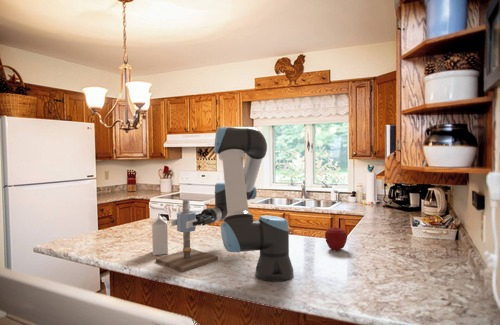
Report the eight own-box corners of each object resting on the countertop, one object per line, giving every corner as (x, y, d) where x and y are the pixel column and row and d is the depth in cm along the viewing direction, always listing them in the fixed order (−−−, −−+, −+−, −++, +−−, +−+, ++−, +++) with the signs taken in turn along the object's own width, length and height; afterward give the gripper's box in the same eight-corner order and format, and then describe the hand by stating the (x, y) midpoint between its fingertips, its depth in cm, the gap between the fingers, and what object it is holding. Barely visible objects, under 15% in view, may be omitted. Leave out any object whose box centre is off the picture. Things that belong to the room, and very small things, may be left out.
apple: (348, 253, 155) (348, 229, 154) (325, 252, 157) (325, 228, 156) (346, 247, 165) (346, 224, 165) (324, 246, 168) (324, 224, 167)
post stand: (218, 259, 148) (217, 199, 147) (182, 271, 133) (181, 204, 132) (190, 251, 161) (189, 195, 161) (155, 261, 146) (154, 200, 146)
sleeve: (199, 229, 147) (198, 212, 147) (184, 233, 141) (184, 214, 141) (188, 227, 153) (187, 210, 152) (174, 230, 147) (173, 212, 146)
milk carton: (152, 255, 155) (152, 216, 155) (153, 251, 162) (152, 214, 162) (167, 254, 157) (167, 215, 157) (167, 250, 164) (166, 213, 164)
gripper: (228, 225, 157) (197, 235, 137) (194, 220, 168) (162, 229, 148) (227, 209, 157) (197, 217, 137) (194, 206, 168) (161, 213, 148)
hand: (179, 224), depth 143 cm, fingers closed on sleeve, 8 cm apart
